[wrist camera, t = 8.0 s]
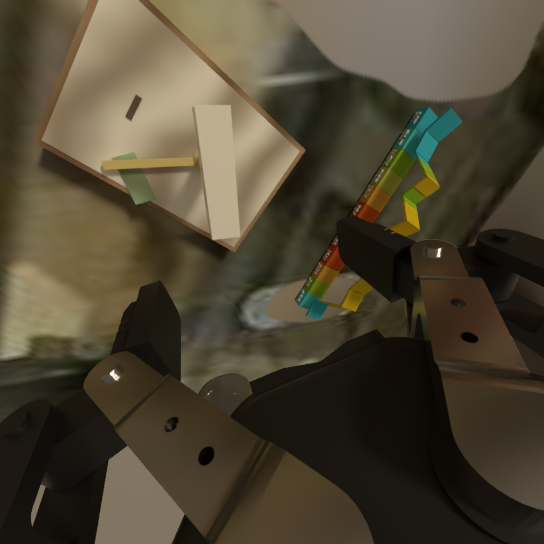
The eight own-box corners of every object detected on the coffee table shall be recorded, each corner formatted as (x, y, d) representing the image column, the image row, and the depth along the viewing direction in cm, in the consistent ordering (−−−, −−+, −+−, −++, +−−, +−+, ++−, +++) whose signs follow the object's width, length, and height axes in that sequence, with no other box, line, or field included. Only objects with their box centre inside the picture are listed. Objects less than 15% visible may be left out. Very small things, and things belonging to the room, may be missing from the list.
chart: (415, 106, 32) (565, 95, 19) (429, 121, 33) (576, 120, 21) (293, 298, 41) (341, 373, 29) (308, 303, 43) (360, 377, 30)
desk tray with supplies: (296, 148, 30) (306, 150, 27) (229, 247, 33) (232, 256, 31) (113, -24, 20) (104, -43, 17) (43, 145, 23) (28, 147, 21)
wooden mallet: (215, 112, 23) (235, 105, 14) (224, 200, 27) (244, 236, 19) (86, 111, 21) (18, 102, 12) (117, 209, 25) (83, 255, 16)
